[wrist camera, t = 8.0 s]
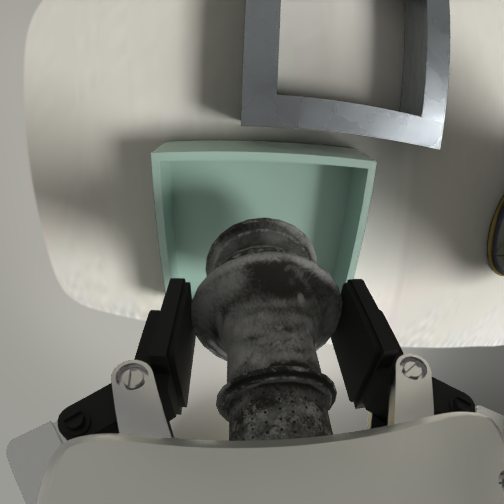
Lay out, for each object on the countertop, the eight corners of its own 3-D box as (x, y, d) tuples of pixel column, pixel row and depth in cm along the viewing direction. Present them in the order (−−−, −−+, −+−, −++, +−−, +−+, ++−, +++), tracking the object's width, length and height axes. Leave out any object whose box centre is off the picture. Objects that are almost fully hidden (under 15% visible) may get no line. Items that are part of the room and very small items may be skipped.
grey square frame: (424, -14, 10) (447, -22, 8) (417, 140, 15) (440, 149, 13) (248, -51, 10) (249, -70, 8) (240, 120, 15) (241, 125, 13)
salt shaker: (238, 330, 17) (244, 557, 6) (175, 249, 14) (103, 535, 4) (338, 286, 15) (422, 520, 5) (290, 188, 13) (417, 512, 2)
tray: (355, 148, 16) (376, 161, 13) (329, 298, 21) (339, 327, 18) (166, 141, 15) (151, 153, 13) (178, 297, 21) (171, 327, 18)
